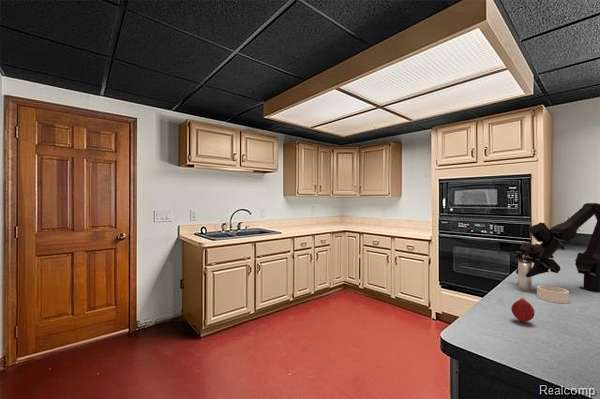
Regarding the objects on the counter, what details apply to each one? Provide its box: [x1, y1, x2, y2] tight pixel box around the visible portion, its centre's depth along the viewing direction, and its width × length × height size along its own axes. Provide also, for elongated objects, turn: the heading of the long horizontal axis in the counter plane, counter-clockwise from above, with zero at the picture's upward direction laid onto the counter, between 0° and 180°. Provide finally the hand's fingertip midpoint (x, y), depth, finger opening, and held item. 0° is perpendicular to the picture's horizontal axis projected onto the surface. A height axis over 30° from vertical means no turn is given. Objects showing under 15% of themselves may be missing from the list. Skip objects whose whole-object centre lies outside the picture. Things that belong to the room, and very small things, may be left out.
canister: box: [517, 259, 533, 293], centre depth 126 cm, size 5×5×13 cm
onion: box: [510, 296, 535, 324], centre depth 92 cm, size 6×6×8 cm
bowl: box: [536, 284, 570, 304], centre depth 115 cm, size 9×9×4 cm
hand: (521, 275), depth 125 cm, fingers open, 5 cm apart
